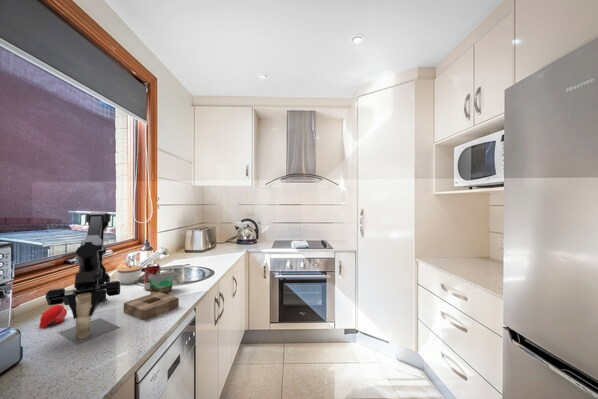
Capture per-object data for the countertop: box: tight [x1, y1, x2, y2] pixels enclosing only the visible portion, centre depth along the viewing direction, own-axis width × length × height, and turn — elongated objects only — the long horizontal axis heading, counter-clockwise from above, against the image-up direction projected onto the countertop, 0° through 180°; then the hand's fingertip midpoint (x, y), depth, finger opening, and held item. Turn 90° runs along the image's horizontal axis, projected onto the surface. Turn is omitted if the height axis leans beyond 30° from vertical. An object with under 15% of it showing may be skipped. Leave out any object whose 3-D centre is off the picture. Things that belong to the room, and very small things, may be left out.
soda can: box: [144, 262, 161, 291], centre depth 125 cm, size 7×7×12 cm
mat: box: [57, 317, 121, 346], centre depth 84 cm, size 14×12×1 cm
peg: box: [75, 293, 92, 340], centre depth 80 cm, size 4×4×14 cm
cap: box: [38, 304, 68, 329], centre depth 88 cm, size 8×6×6 cm
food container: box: [148, 268, 176, 295], centre depth 119 cm, size 12×6×10 cm, turn 148°
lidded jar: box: [117, 264, 143, 285], centre depth 134 cm, size 11×11×9 cm
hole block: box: [122, 292, 180, 321], centre depth 101 cm, size 14×14×4 cm
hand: (82, 317), depth 79 cm, fingers closed on peg, 4 cm apart
